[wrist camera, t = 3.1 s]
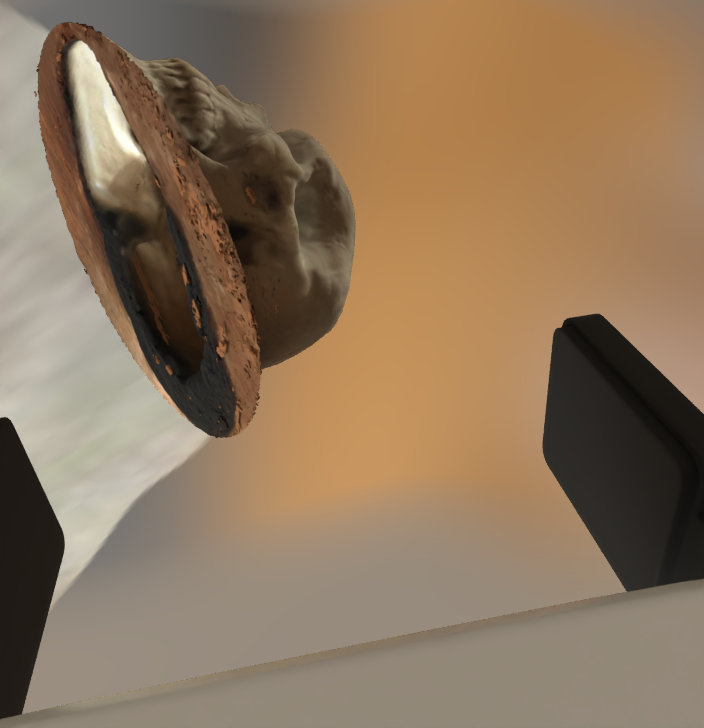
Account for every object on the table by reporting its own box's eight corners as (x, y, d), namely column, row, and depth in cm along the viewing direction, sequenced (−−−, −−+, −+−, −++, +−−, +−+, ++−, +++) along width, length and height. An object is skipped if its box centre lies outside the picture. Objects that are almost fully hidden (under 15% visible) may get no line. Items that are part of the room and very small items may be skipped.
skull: (182, -63, 12) (294, -40, 20) (-246, 113, 14) (19, 65, 23) (373, 469, 17) (397, 304, 26) (38, 527, 19) (164, 358, 28)
